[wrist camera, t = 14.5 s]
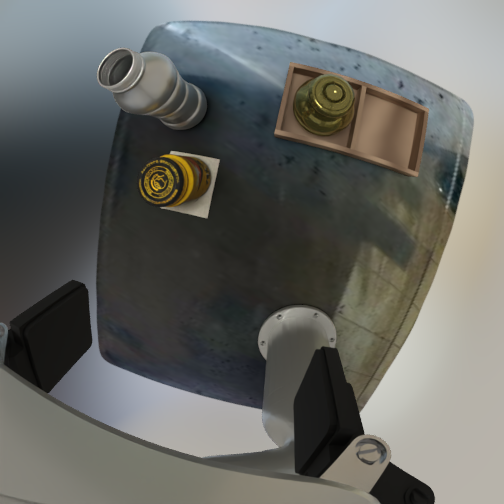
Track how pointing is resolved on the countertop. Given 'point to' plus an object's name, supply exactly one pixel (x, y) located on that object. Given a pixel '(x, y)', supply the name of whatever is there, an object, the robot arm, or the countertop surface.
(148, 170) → the condiment
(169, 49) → the countertop surface
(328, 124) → the brass weight
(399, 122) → the caddy
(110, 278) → the countertop surface
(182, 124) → the plastic bottle
